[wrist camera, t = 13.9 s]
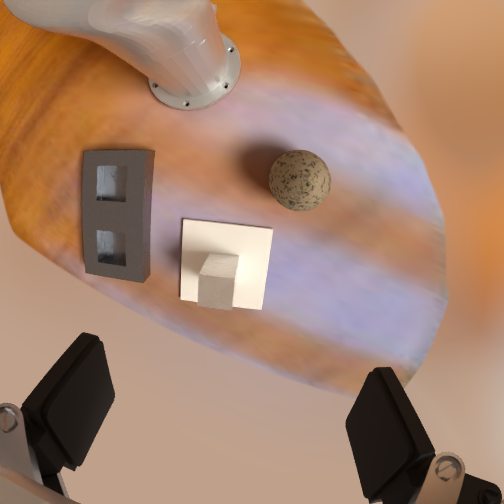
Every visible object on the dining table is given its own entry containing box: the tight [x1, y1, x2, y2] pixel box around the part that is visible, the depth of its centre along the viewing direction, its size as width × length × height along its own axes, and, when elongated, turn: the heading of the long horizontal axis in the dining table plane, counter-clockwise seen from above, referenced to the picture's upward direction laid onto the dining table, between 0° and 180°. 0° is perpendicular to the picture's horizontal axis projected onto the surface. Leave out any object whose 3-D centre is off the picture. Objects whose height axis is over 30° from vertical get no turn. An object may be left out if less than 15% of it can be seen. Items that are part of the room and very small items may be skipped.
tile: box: [181, 219, 273, 310], centre depth 39 cm, size 12×12×1 cm
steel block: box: [197, 252, 239, 310], centre depth 35 cm, size 4×4×8 cm
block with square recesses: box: [82, 150, 155, 283], centre depth 36 cm, size 18×10×3 cm, turn 173°
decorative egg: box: [269, 150, 331, 211], centre depth 31 cm, size 7×7×10 cm
